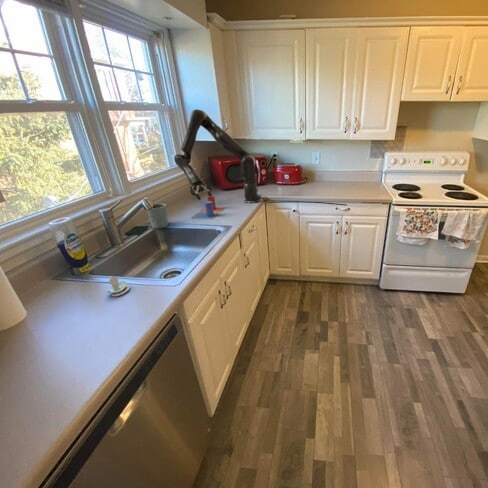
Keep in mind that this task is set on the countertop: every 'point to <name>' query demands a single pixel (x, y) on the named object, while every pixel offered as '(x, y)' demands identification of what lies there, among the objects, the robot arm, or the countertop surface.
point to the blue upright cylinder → (209, 209)
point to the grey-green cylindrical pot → (158, 216)
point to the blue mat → (203, 215)
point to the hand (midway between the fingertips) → (205, 198)
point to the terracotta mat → (215, 210)
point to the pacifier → (117, 287)
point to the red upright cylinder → (211, 198)
